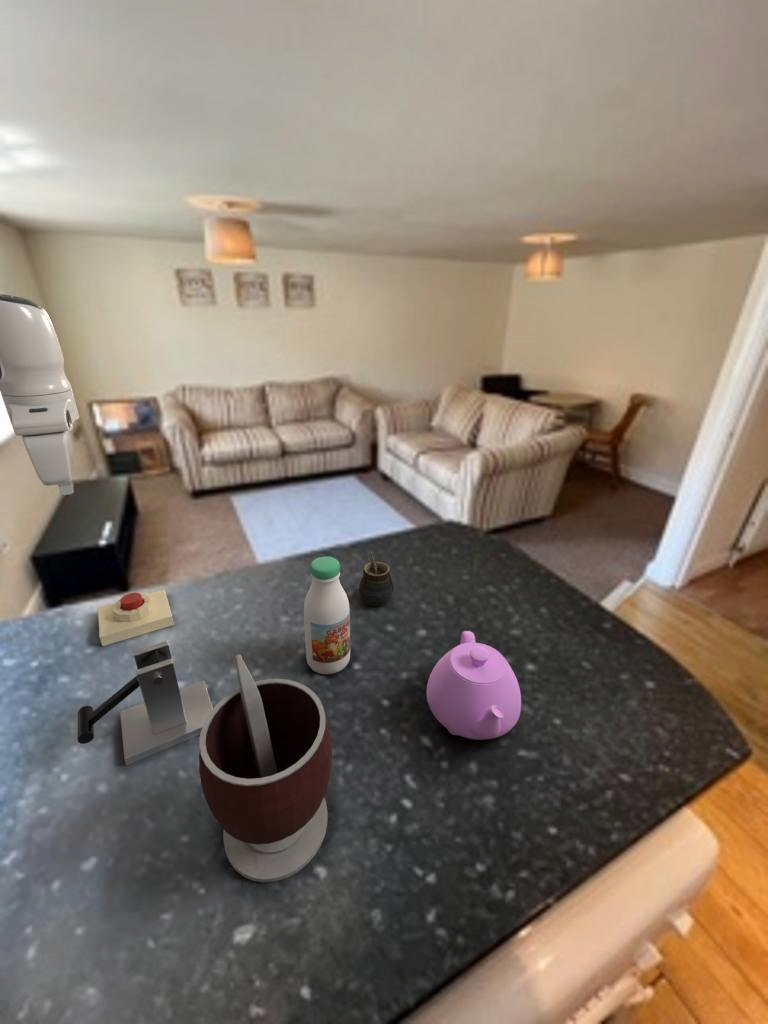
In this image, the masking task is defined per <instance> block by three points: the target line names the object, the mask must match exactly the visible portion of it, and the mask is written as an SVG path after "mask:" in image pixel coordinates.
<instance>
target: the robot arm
mask: <svg viewBox="0 0 768 1024" xmlns="http://www.w3.org/2000/svg"><path fill="white" fill-rule="evenodd" d="M0 395H1V398H2V401H3V403H4V406H5V409H6V412H7V415H8V419H9V421H10V425H11V426H12V429H13V432H14V434H15V435H16V436H17V437H21V438H22V442H23V445H24V447H25V450H26V452H27V455H28V457H29V460H30V461H31V465H32V466H33V468H34V471H35V473H36V475H37V477H38V479H39V481H40V482H41V484H42V485H44V486H46V487H50V486H58V489H59V492H60V494H61V495H62V496H68V495H73V494H74V493H75V484H74V481H73V460H74V444H73V440H72V436H71V433H70V432H71V431H73V429H74V426H73V424H74V423H75V421H77V420H79V419H80V413H79V410H78V406H77V403H76V399H75V395H74V391H73V387H72V384H71V383H70V381H69V380H68V379H67V375H66V373H65V358H64V355H63V350H62V347H61V344H60V341H59V338H58V335H57V332H56V329H55V327H54V324H53V322H52V320H51V318H50V316H49V314H48V313H47V311H46V310H45V309H44V308H43V307H42V306H41V305H40V304H38V303H37V302H35V301H33V300H32V299H28V298H24V297H20V296H14V295H9V294H2V293H1V294H0Z"/></svg>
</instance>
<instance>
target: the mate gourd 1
mask: <svg viewBox="0 0 768 1024" xmlns="http://www.w3.org/2000/svg"><path fill="white" fill-rule="evenodd" d="M234 661H235V663H236V669H237V670H236V671H237V677H238V688H236V689H234V690H233V691H231V692H229V693H228V694H227V695H225V696H224V697H223V698H222V699H221V700H219V701H218V702H217V703H216V704H215V705H214V707H213V709H212V711H211V712H210V713H209V715H208V717H207V718H206V720H205V722H204V724H203V727H202V730H201V733H200V735H199V743H198V746H199V752H198V753H199V754H198V769H199V770H198V772H199V778H200V779H199V780H200V784H201V788H202V792H203V797H204V799H205V802H206V804H207V807H208V809H209V810H210V812H211V814H212V816H213V818H214V820H215V821H216V822H217V823H218V824H219V826H220V827H221V828H222V829H223V836H222V839H223V846H224V851H225V855H226V857H227V859H228V862H229V864H230V865H231V866H232V868H233V869H234V871H235V872H237V873H238V874H239V875H241V876H242V877H244V878H246V879H248V880H251V881H253V882H259V883H275V882H278V881H282V880H286V879H288V878H290V877H291V876H293V875H295V874H297V873H299V872H300V871H301V870H302V869H304V868H305V867H306V866H307V865H308V864H310V862H311V860H313V858H314V857H315V856H316V854H317V853H318V851H319V849H320V848H321V846H322V844H323V842H324V839H325V836H326V832H327V828H328V806H327V800H326V799H325V795H326V793H327V790H328V787H329V781H330V778H331V771H332V767H333V745H332V742H333V741H332V735H331V731H330V726H329V722H328V718H327V716H326V712H325V708H324V706H323V703H322V701H321V699H320V698H319V697H318V695H317V694H316V693H315V692H314V691H313V690H312V689H310V688H309V687H308V686H306V685H304V684H302V683H300V682H299V681H295V680H292V679H287V678H267V679H261V680H260V679H259V680H256V681H255V680H254V678H253V676H252V674H251V672H250V670H249V669H248V666H247V664H246V663H245V661H244V660H243V657H242V654H236V655H235V656H234Z"/></svg>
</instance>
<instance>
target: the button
mask: <svg viewBox="0 0 768 1024" xmlns="http://www.w3.org/2000/svg"><path fill="white" fill-rule="evenodd" d="M141 594H142V593H140V592H136V591H135V592H130V593H127V594H124V595H122V596H121V597H120V599H121V600H120V599H119V600H120V602H121V606H122V609H123V610H125V611H131V610H134V609H137V608H139V607H141V606H142V605H143V599H142V595H141Z"/></svg>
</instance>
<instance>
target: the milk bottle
mask: <svg viewBox="0 0 768 1024" xmlns="http://www.w3.org/2000/svg"><path fill="white" fill-rule="evenodd" d="M340 571H341V564H340V561H339V560H338V559H336V558H335V557H332V556H321V557H317V558H315V559H313V560H312V562H311V563H310V577H311V579H312V581H311V584H310V588H309V590H308V592H307V594H306V596H305V599H304V604H303V625H304V627H303V629H304V644H305V658H306V663H307V665H308V666H309V669H311V670H312V671H313V672H316V673H317V674H320V675H332V674H336V673H338V672H341V671H342V670H344V669H345V668H346V667H347V666H348V664H349V662H350V660H351V612H350V611H351V610H350V602H349V597H348V596H347V592H346V591H345V590H344V588H343V586H342V584H341V581H340V576H341V572H340Z"/></svg>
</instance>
